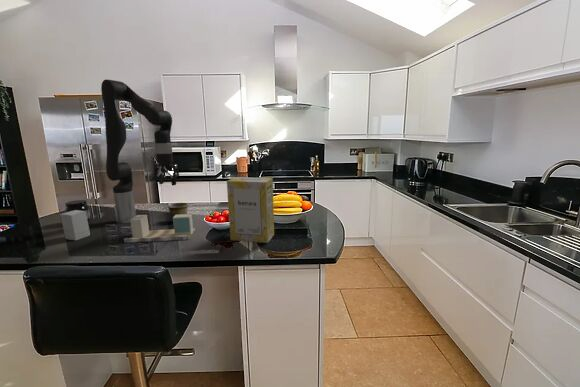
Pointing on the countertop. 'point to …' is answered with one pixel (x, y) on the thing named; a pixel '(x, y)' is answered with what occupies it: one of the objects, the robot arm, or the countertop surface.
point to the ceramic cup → (178, 209)
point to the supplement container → (78, 207)
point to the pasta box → (251, 209)
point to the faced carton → (183, 224)
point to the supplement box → (75, 225)
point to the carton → (139, 226)
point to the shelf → (159, 236)
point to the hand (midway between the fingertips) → (167, 184)
